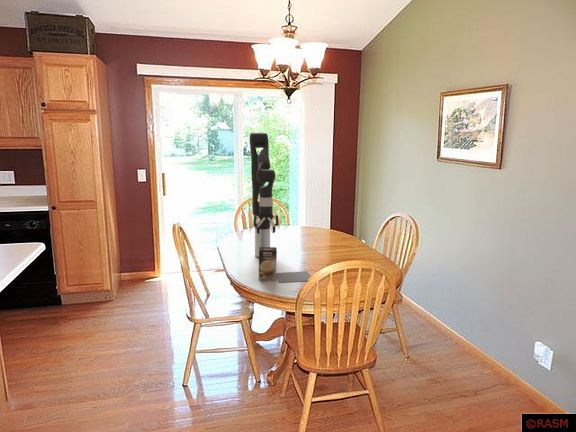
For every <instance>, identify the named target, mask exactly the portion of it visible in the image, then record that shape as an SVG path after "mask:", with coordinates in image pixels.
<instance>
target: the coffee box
mask: <svg viewBox="0 0 576 432" xmlns="http://www.w3.org/2000/svg"><path fill="white" fill-rule="evenodd" d="M277 250H278V248H277V247H276V246H275V247H272V246H270V247H259V257H258V281H265V282H266V281H270V282H271V281H277V278H276V273H277V254H278V252H277Z"/></svg>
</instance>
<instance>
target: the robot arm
mask: <svg viewBox="0 0 576 432" xmlns="http://www.w3.org/2000/svg"><path fill="white" fill-rule="evenodd" d="M269 144H270V143H269V136H268V134H267V132H261V131H257V132H255V131H254V132H253V131H252V132H251V133H250V134H249V147H250V149H249V150H250V159H251V160H250V162H251V168H250V169H251V170H250V171H251V173H250V174H251V175H250V176H251V189H252V191H251V193H252V196H251V197H252V199H251V200H252V201H251V202H252V204H251V205H252V206H251V207H252V209H251V211H252V216H253V219H252V220H253V221H252V225H253V227H254V257H257V258H259V247H271V225H272V234H275V233H276V227H277V226H279V223H280V222H279V215H278V214H274V213H273V208H274V207H273V205H274V203H273V187H274V183H275V180H276V172H275V170H274V169H271V162H270V151H269V150H270V147H269V146H270V145H269ZM257 148H258V149H261V151H260V152H259V153H258V151H257ZM266 183H267V185H266ZM258 219H259V221H257V220H258ZM273 219H275V222H274V221H273Z"/></svg>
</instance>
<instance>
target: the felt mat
mask: <svg viewBox="0 0 576 432" xmlns="http://www.w3.org/2000/svg"><path fill="white" fill-rule="evenodd" d="M310 277H312V275H311V274H310V273H309V271H308V270H305V271H302V270H301V271H287V272H276V281H277V282H278V284H283V283H285V284H286V283H299V282H300V283H301V282H309V281H308V279H309V278H310Z"/></svg>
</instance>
